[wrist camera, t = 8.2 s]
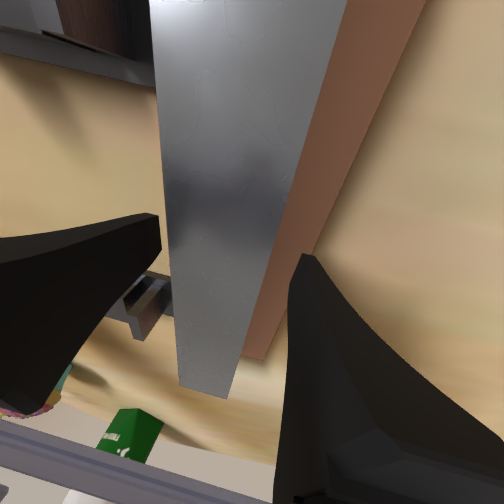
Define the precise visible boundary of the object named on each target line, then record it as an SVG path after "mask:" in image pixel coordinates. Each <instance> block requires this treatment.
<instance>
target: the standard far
mask: <svg viewBox="0 0 504 504" xmlns="http://www.w3.org/2000/svg"><path fill="white" fill-rule="evenodd" d="M162 314H165V315H169V316H172V317H174V311H173V298H172V285H171V277H169V276H165V275H162V274H158V273H154V272H151V271H147V270H146V271H145V272H144V273H143V274H142V275H141V276H140V277H139V278H138V279H137V280H136V281H135V282H134V283H133V284H132V286H131V287H130V288H129V289H128V290H127V291H126V292H125V293H124V294H123V295H122V296H121V297H120V298H119V299H118V300H117V301H116V302H115V304H114V305H113V306H112V307H111V308H110V310H109V311H108V312H107V313H106V315H105V317H108V318H112V319H115V320H119V321H122V322H126V323H129V326H130V329H131V332H132V335H133V339H137V340H140V341H144V340H145V339H146V337H147V336H148V334H149V333H150V331H151V330H152V328H153V327H154V325H155V324H156V323H157V321H158V320H159V318H160V317H161V315H162Z"/></svg>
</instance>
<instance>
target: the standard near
mask: <svg viewBox="0 0 504 504" xmlns="http://www.w3.org/2000/svg"><path fill="white" fill-rule="evenodd" d="M0 52H1V53H5V54H10V55H14V56H18V57H23V58H27V59H31V60H36V61H40V62H44V63H49V64H53V65H58V66H62V67H66V68H71V69H75V70H79V71H84V72H88V73H92V74H97V75H101V76H105V77H110V78H114V79H118V80H123V81H127V82H131V83H136V84H140V85H144V86H149V87H153V88H156V82H155V69H154V56H153V43H152V31H151V18H150V5H149V0H0Z"/></svg>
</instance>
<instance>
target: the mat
mask: <svg viewBox="0 0 504 504" xmlns="http://www.w3.org/2000/svg"><path fill="white" fill-rule="evenodd" d="M425 2H426V0H347V3H346V7H345V10H344V13H343V16H342V20H341V23H340V26H339V30H338V33H337V36H336V40H335V43H334V46H333V50H332V53H331V56H330V60H329V63H328V66H327V69H326V73H325V76H324V79H323V83H322V86H321V89H320V93H319V96H318V99H317V103H316V106H315V109H314V112H313V116H312V119H311V122H310V126H309V129H308V132H307V136H306V139H305V142H304V146H303V149H302V152H301V156H300V159H299V162H298V165H297V169H296V172H295V175H294V179H293V182H292V185H291V189H290V192H289V195H288V199H287V202H286V205H285V208H284V212H283V215H282V218H281V222H280V225H279V228H278V232H277V235H276V238H275V242H274V245H273V248H272V251H271V255H270V258H269V261H268V265H267V268H266V271H265V275H264V278H263V281H262V285H261V288H260V291H259V295H258V298H257V301H256V304H255V308H254V311H253V314H252V318H251V321H250V324H249V328H248V331H247V334H246V338H245V341H244V344H243V347H242V351H241V354H240V355H244V356H247V357H251V358H254V359H258V360H261V361H263V359H264V357H265V355H266V353H267V350H268V348H269V346H270V344H271V342H272V339H273V337H274V335H275V333H276V331H277V328H278V326H279V324H280V322H281V320H282V317H283V315H284V313H285V311H286V309H287V300H288V291H289V283H290V281H291V278H292V276H293V273H294V271H295V269H296V266H297V264H298V261H299V259H300V257H301V254H302V253H305V254H309V255H311V253H312V251H313V249H314V247H315V245H316V242H317V240H318V238H319V236H320V234H321V231H322V229H323V227H324V225H325V223H326V220H327V218H328V216H329V214H330V212H331V209H332V207H333V205H334V203H335V201H336V198H337V196H338V194H339V192H340V190H341V187H342V185H343V183H344V181H345V178H346V176H347V174H348V172H349V170H350V167H351V165H352V163H353V161H354V159H355V156H356V154H357V152H358V150H359V148H360V145H361V143H362V141H363V139H364V137H365V134H366V132H367V130H368V128H369V126H370V123H371V121H372V119H373V117H374V115H375V112H376V110H377V108H378V106H379V104H380V101H381V99H382V97H383V95H384V93H385V90H386V88H387V86H388V84H389V82H390V79H391V77H392V75H393V73H394V70H395V68H396V66H397V64H398V62H399V59H400V57H401V55H402V53H403V51H404V48H405V46H406V44H407V42H408V40H409V37H410V35H411V33H412V31H413V29H414V26H415V24H416V22H417V20H418V18H419V15H420V13H421V11H422V9H423V7H424V4H425ZM156 97H157V94H156ZM157 110H158V107H157ZM158 123H159V120H158ZM159 135H160V133H159ZM160 148H161V145H160ZM161 160H162V158H161ZM162 173H163V171H162ZM163 186H164V183H163ZM164 198H165V196H164ZM165 211H166V209H165ZM166 224H167V222H166ZM167 236H168V234H167ZM168 249H169V247H168ZM169 262H170V260H169ZM170 274H171V273H170ZM174 325H175V323H174Z"/></svg>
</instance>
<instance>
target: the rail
mask: <svg viewBox="0 0 504 504" xmlns="http://www.w3.org/2000/svg"><path fill="white" fill-rule="evenodd" d="M346 3H347V0H149V5H150V18H151V31H152V43H153V56H154V69H155V82H156V94H157V107H158V120H159V133H160V145H161V158H162V171H163V183H164V196H165V209H166V222H167V234H168V247H169V260H170V273H171V285H172V298H173V311H174V323H175V336H176V349H177V362H178V374H179V386H182V387H186V388H189V389H192V390H196V391H199V392H203V393H206V394H209V395H213V396H216V397H219V398H223V399H226V400H227V397H228V394H229V391H230V387H231V384H232V381H233V377H234V374H235V371H236V367H237V364H238V361H239V357H240V354H241V351H242V347H243V344H244V341H245V338H246V334H247V331H248V328H249V324H250V321H251V318H252V314H253V311H254V308H255V304H256V301H257V298H258V295H259V291H260V288H261V285H262V281H263V278H264V275H265V271H266V268H267V265H268V261H269V258H270V255H271V251H272V248H273V245H274V242H275V238H276V235H277V232H278V228H279V225H280V222H281V218H282V215H283V212H284V208H285V205H286V202H287V199H288V195H289V192H290V189H291V185H292V182H293V179H294V175H295V172H296V169H297V165H298V162H299V159H300V156H301V152H302V149H303V146H304V142H305V139H306V136H307V132H308V129H309V126H310V122H311V119H312V116H313V112H314V109H315V106H316V103H317V99H318V96H319V93H320V89H321V86H322V83H323V79H324V76H325V73H326V69H327V66H328V63H329V60H330V56H331V53H332V50H333V46H334V43H335V40H336V36H337V33H338V30H339V26H340V23H341V20H342V16H343V13H344V10H345V7H346Z"/></svg>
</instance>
